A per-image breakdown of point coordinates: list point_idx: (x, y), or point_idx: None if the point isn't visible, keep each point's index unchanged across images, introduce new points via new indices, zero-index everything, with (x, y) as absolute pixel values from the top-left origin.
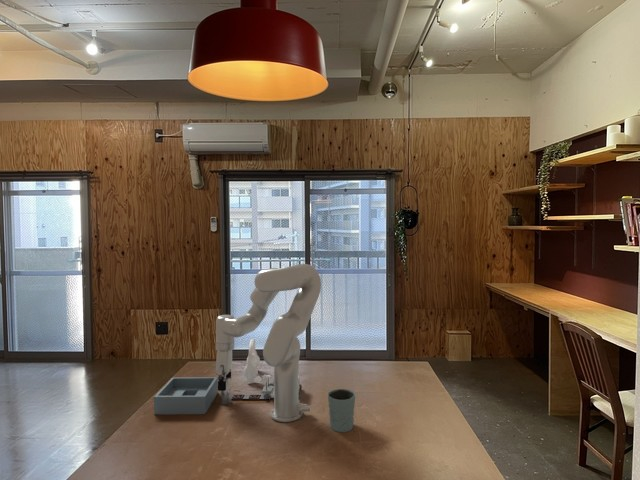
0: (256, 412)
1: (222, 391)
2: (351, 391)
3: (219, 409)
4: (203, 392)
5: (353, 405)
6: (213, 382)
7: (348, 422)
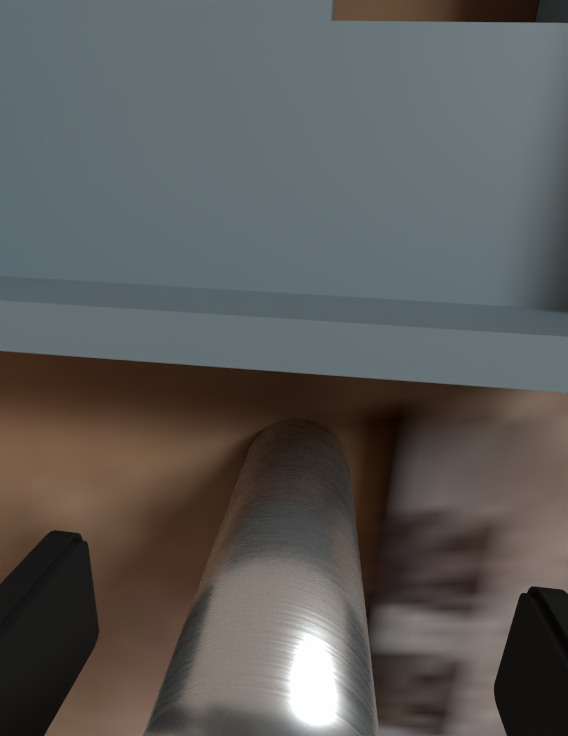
0: (106, 697)
1: (222, 530)
2: None
3: (145, 421)
4: (451, 160)
5: None
6: (521, 374)
7: None
